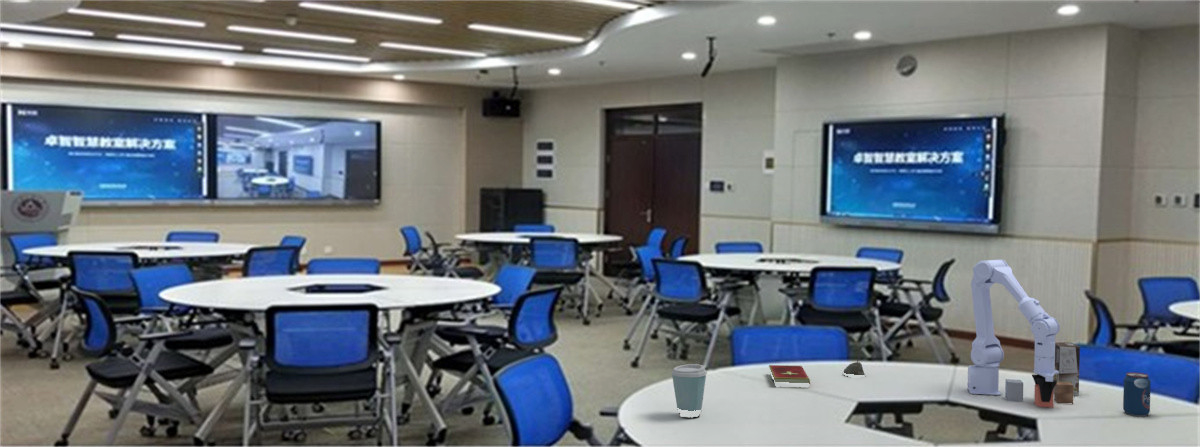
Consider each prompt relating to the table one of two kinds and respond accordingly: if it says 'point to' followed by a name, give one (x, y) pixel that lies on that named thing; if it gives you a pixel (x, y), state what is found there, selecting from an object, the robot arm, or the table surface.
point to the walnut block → (1063, 392)
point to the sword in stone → (855, 367)
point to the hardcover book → (789, 374)
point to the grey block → (1013, 390)
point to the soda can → (1136, 394)
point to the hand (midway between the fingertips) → (1043, 399)
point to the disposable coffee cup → (689, 386)
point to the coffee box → (1067, 364)
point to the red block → (1038, 398)
